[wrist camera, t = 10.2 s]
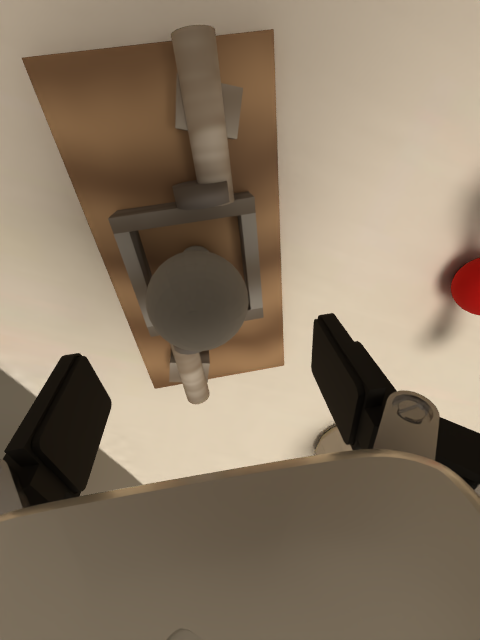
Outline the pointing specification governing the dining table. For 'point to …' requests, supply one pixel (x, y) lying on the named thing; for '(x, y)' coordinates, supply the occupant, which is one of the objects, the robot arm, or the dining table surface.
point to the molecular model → (467, 287)
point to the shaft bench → (176, 178)
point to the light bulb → (197, 300)
